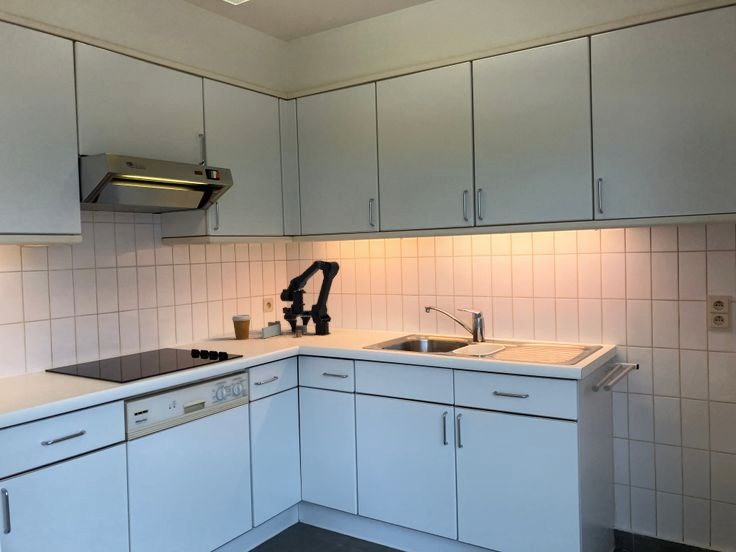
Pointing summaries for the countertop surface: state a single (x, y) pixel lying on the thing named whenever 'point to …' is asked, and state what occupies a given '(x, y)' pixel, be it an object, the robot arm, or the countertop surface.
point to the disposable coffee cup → (241, 326)
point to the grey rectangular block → (301, 328)
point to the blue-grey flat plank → (271, 331)
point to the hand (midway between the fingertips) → (299, 330)
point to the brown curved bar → (298, 332)
